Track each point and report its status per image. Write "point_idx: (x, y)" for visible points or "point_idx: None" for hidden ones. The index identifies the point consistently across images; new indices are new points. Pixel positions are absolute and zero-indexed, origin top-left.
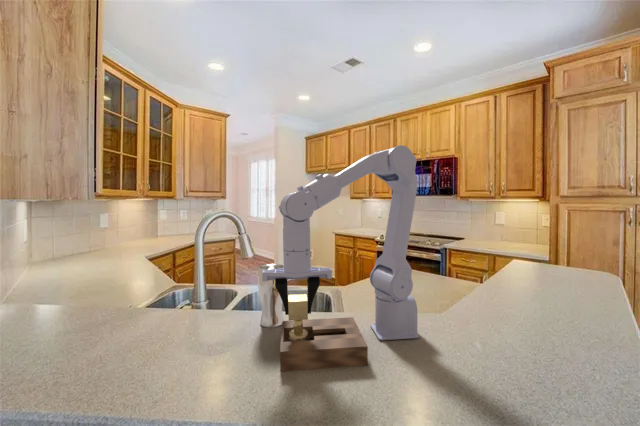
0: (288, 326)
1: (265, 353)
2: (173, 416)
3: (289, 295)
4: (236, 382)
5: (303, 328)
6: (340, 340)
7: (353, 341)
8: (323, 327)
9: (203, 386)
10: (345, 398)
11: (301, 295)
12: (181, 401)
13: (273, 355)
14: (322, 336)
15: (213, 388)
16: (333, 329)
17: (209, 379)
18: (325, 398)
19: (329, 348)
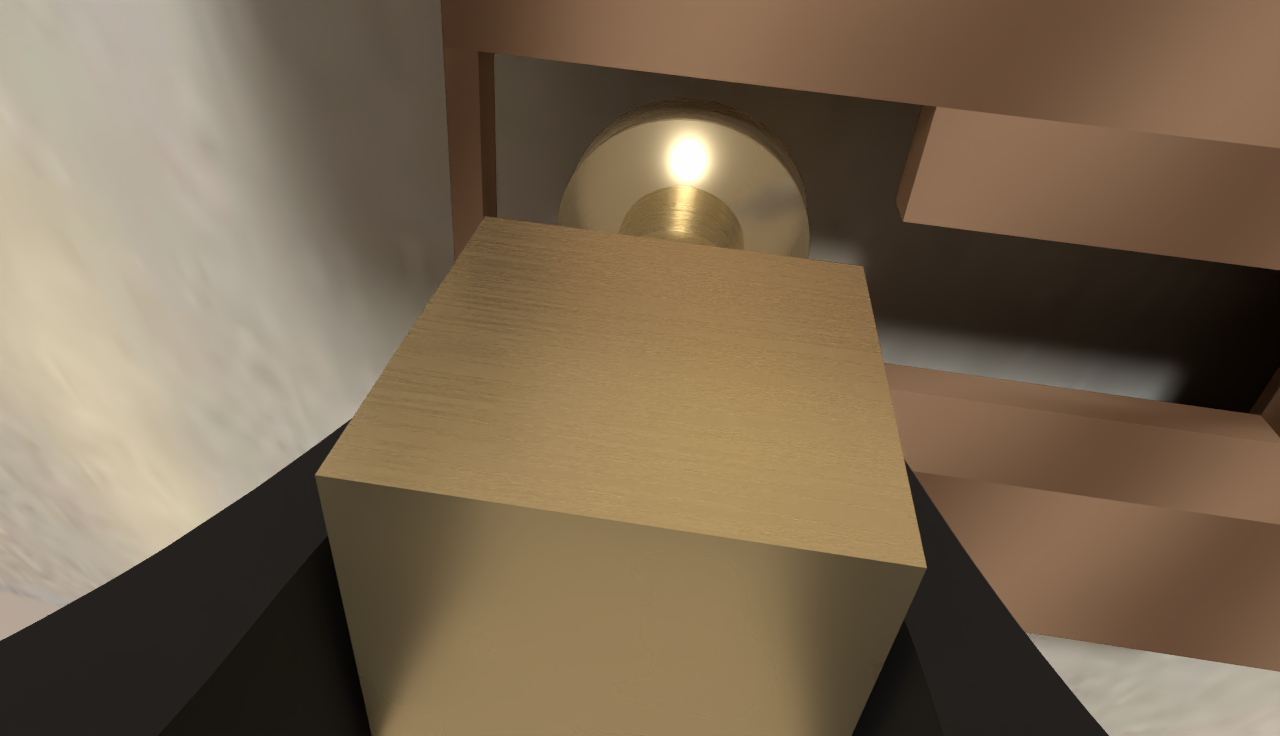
0: (548, 13)
1: (352, 151)
2: (53, 592)
3: (353, 520)
4: (241, 462)
5: (786, 83)
6: (1107, 534)
7: (1228, 582)
8: (1093, 186)
9: (53, 446)
10: None
11: (730, 599)
12: (16, 522)
13: (437, 208)
14: (952, 417)
15: (126, 476)
16: (1211, 259)
17: (47, 393)
18: None
19: None
